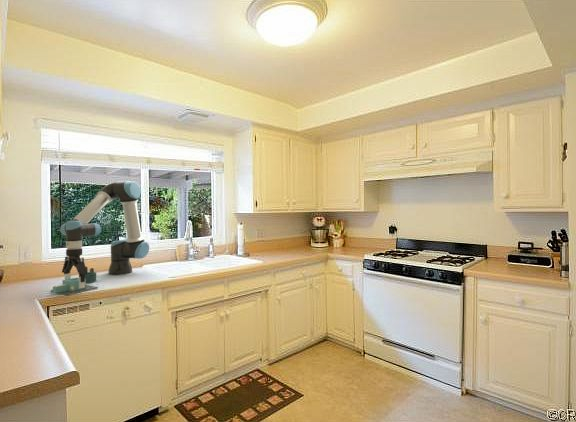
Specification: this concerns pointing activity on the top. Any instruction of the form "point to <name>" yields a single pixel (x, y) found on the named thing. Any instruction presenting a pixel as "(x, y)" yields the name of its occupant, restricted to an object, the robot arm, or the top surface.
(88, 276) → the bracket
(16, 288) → the top surface
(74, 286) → the teal stepped block
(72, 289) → the post plate
